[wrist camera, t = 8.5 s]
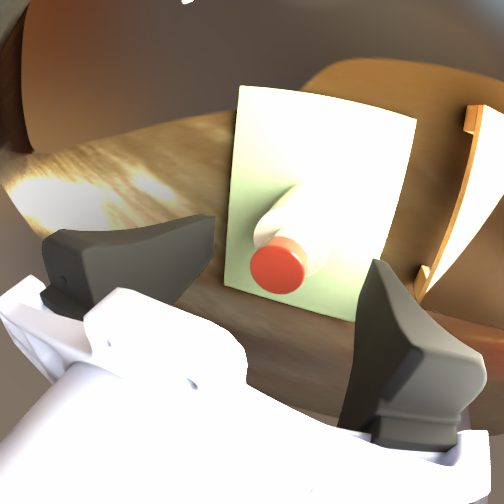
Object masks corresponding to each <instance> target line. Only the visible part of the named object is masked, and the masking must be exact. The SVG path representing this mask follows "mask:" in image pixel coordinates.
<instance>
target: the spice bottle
mask: <svg viewBox="0 0 504 504" xmlns="http://www.w3.org/2000/svg"><path fill="white" fill-rule="evenodd" d="M336 218H337V211H336V206H335V204H334V201H333V199H332V198H331V197H330V195H329V194H328V193H327V192H326V191H325V190H323V189H322V188H320V187H318V186H316V185H312V184H298V185H294V186H292V187H290V188H288V189H287V190H286V191H285V192H284V193H283V194H282V195H281V196H280V197H279V198H278V200H277V201H276V202H275V203H274V204H273V205H272V206H271V207H270V209H269V210H268V211H267V212H266V213H265V214H264V215H263V216H262V217H261V219H260V220H259V221H258V223H257V225H256V227H255V230H254V235H253V242H254V248H255V251H256V252H255V253H254V254H253V256H252V258H251V262H250V271H251V274H252V277H253V279H254V280H255V282H256V283H257V284H258V285H259V286H260V287H261V288H263V289H264V290H266V291H268V292H270V293H274V294H289V293H291V292H293V291H295V290H297V289H298V288H299V287H300V286H301V284H302V283H303V281H304V278H305V277H307V276H310V275H312V274H314V273H315V272H317V271H318V270H319V269H320V268H321V267H322V266H323V265H324V264H325V262H326V260H327V258H328V255H329V251H330V246H331V242H332V237H333V232H334V228H335V223H336Z"/></svg>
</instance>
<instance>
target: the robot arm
mask: <svg viewBox="0 0 504 504" xmlns="http://www.w3.org/2000/svg"><path fill="white" fill-rule="evenodd" d="M214 232H215V217H214V216H210V215H205V214H199V215H193V216H189V217H184V218H180V219H176V220H172V221H168V222H164V223H160V224H155V225H151V226H146V227H141V228H134V229H127V230H114V231H78V230H67V229H61V230H58V231H57V232H55V233H53V234H51V235H50V236H48V237H46V238H45V239H44V241H43V244H42V255H43V260H44V263H45V267H46V270H47V273H48V277H49V279H50V283H51V285H49V286H48V287H47V288H46V287H45V285H44V284H43V283H42V282H41V281H40V280H38V279H37V278H35V277H34V276H33V275H29V276H28V277H26V278H25V279H23V280H22V281H21V282H19V283H18V284H17V285H15V286H14V287H13V288H11V289H10V290H8V291H7V292H6V293H5V294H3V295H2V296H1V297H0V318H1V320H2V321H3V323H4V325H5V327H6V329H7V331H8V332H9V335H10V336H11V338H12V340H13V342H14V343H15V344H16V346H17V347H18V348H19V349H20V350H21V351H22V352H23V353H24V354H25V356H27V358H28V359H29V360H30V361H31V362H32V363H33V364H34V365H35V366H36V367H37V369H38V370H39V371H40V372H41V373H42V374H43V375H44V376H45V377H46V378H47V379H48V380H49V381H50V382H51V383H52V384H53V385H52V386H51V387H50V388H49V390H48V391H47V392H46V393H45V394H44V395H43V396H42V397H41V398H40V399H39V400H38V402H36V404H35V405H34V406H33V407H32V408H31V409H30V410H29V411H28V412H27V413H26V414H25V416H24V417H23V418H22V419H21V420H20V421H19V422H18V423H17V425H16V426H15V427H14V428H13V429H12V430H11V431H10V433H9V434H8V435H7V436H6V437H5V438H4V440H3V441H2V442H1V443H0V504H487V503H488V493H489V492H490V456H489V442H488V432H487V431H471V427H470V417H469V409H468V405H469V404H470V403H471V402H472V401H473V400H474V399H475V398H476V397H477V396H478V394H479V393H480V392H481V391H482V389H483V387H484V385H485V383H486V379H487V373H486V369H485V365H484V361H483V358H482V355H481V354H480V353H478V352H476V351H475V350H473V349H471V348H470V347H468V346H466V345H465V344H463V343H462V342H460V341H459V340H458V339H456V338H455V337H453V336H452V335H451V334H449V333H448V332H447V331H446V330H444V329H443V328H442V327H441V326H440V325H439V324H438V323H436V322H435V321H434V320H433V319H432V318H431V317H430V316H429V315H428V314H427V313H426V312H425V311H424V310H423V309H422V308H421V307H420V306H419V304H418V303H417V302H416V301H415V300H414V298H413V297H412V296H411V295H410V293H409V292H408V291H407V290H406V288H405V287H404V286H403V284H402V283H401V281H400V280H399V279H398V277H397V276H396V274H395V273H394V271H393V270H392V269H391V267H390V266H389V265H388V263H387V262H386V261H382V260H379V259H375V258H373V259H372V261H371V264H370V267H369V270H368V273H367V275H366V278H365V281H364V283H363V286H362V289H361V291H360V294H359V297H358V303H357V309H356V316H355V340H354V356H353V364H352V370H351V374H350V379H349V384H348V388H347V392H346V396H345V400H344V404H343V407H342V411H341V414H340V418H339V421H338V424H337V427H333V426H328V425H325V424H323V423H321V422H319V421H316V420H314V419H312V418H310V417H308V416H306V415H304V414H302V413H300V412H298V411H295V410H293V409H291V408H290V407H288V406H285V405H284V404H282V403H280V402H278V401H276V400H274V399H272V398H270V397H268V396H267V395H265V394H263V393H261V392H259V391H257V390H256V389H254V388H252V387H250V386H248V385H247V384H246V380H245V377H246V370H247V360H246V356H245V352H244V349H243V347H242V346H241V345H240V344H239V343H238V342H237V341H236V339H235V338H234V337H233V336H232V335H231V334H230V333H229V332H228V331H226V330H225V329H223V328H221V327H219V326H218V325H216V324H214V323H212V322H211V321H208V320H205V319H203V318H200V317H197V316H195V315H192V314H190V313H187V312H184V311H182V310H179V309H177V308H174V307H172V305H173V304H174V302H175V301H176V300H177V299H178V298H179V297H180V296H181V295H182V293H183V292H184V291H185V290H186V289H187V288H188V287H189V286H190V285H191V284H192V283H193V282H194V280H195V279H196V278H197V277H198V276H199V275H200V274H201V273H202V272H203V270H204V269H205V267H206V266H207V265H208V263H209V262H210V260H211V258H212V257H213V255H214Z"/></svg>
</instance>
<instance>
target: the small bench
mask: <svg viewBox="0 0 504 504" xmlns="http://www.w3.org/2000/svg"><path fill="white" fill-rule="evenodd" d="M463 130H464V131H465V132H468V133H470V134H472V135H473V141H472V145H471V150H470V154H469V159H468V163H467V167H466V171H465V175H464V178H463V182H462V185H461V189H460V192H459V196H458V199H457V202H456V205H455V208H454V211H453V214H452V217H451V220H450V223H449V226H448V228H447V231H446V234H445V236H444V239H443V242H442V244H441V247H440V249H439V252H438V254H437V256H436V259H435V261H434V264H433V266H432V268H429V267H426V266H423V265H422V266H421V268H420V270H419V273H418V275H417V277H416V279H415V282H414V284H413V288H414V292H415V297H416V301H417V303H418V304H419V306H420V307H421V308H422V309H424V310H428V311H431V312H435V313H439V314H443V315H447V316H451V317H455V318H458V319H462V320H466V321H470V322H474V323H478V324H482V325H486V326H490V327H494V328H498V329H502V330H504V115H503V114H501V113H499V112H497V111H495V110H494V109H492V108H490V107H488V106H486V105H467V111H466V117H465V123H464V129H463Z"/></svg>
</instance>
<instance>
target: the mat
mask: <svg viewBox="0 0 504 504" xmlns="http://www.w3.org/2000/svg"><path fill="white" fill-rule="evenodd" d="M415 125H416V119H414V118H411V117H407V116H404V115H401V114H398V113H394V112H391V111H387V110H384V109H380V108H377V107H373V106H369V105H365V104H361V103H356V102H352V101H348V100H343V99H338V98H333V97H328V96H323V95H317V94H311V93H304V92H298V91H290V90H283V89H274V88H264V87H251V86H240V88H239V99H238V108H237V118H236V128H235V139H234V150H233V162H232V174H231V186H230V199H229V212H228V226H227V241H226V257H225V273H224V285H226V286H230V287H233V288H236V289H239V290H242V291H246V292H249V293H252V294H256V295H259V296H262V297H265V298H269V299H272V300H276V301H279V302H282V303H286V304H289V305H293V306H296V307H300V308H303V309H307V310H310V311H314V312H317V313H321V314H325V315H328V316H332V317H336V318H339V319H343V320H347V321H351V322H354V321H355V316H356V309H357V303H358V297H359V294H360V291H361V289H362V286H363V283H364V281H365V278H366V275H367V273H368V270H369V267H370V264H371V261H372V259H373V258H375V259H379V258H380V255H381V252H382V249H383V246H384V243H385V241H386V238H387V234H388V231H389V228H390V225H391V222H392V219H393V215H394V212H395V209H396V205H397V202H398V198H399V195H400V191H401V187H402V183H403V180H404V176H405V172H406V167H407V163H408V159H409V154H410V150H411V145H412V140H413V135H414V130H415ZM298 184H312V185H316V186H318V187H320V188H322V189H323V190H325V191H326V192H327V193H328V194H329V195H330V197H331V198H332V199H333V201H334V204H335V206H336V211H337V218H336V223H335V228H334V232H333V237H332V242H331V246H330V251H329V255H328V258H327V260H326V262H325V264H324V265H323V266H322V267H321V268H320V269H319V270H318V271H317V272H315V273H314V274H312V275H310V276H307V277H305V278H304V281H303V283H302V284H301V286H300V287H299V288H298V289H297V290H295V291H293V292H291V293H289V294H274V293H270V292H268V291H266V290H264V289H263V288H261V287H260V286H259V285H258V284H257V283H256V282H255V280H254V279H253V277H252V274H251V271H250V262H251V258H252V256H253V254H254V253H255V252H256V251H255V248H254V242H253V235H254V230H255V227H256V225H257V223H258V221H259V220H260V219H261V217H262V216H263V215H264V214H265V213H266V212H267V211H268V210H269V209H270V207H271V206H272V205H273V204H274V203H275V202H276V201H277V200H278V198H279V197H280V196H281V195H282V194H283V193H284V192H285V191H286V190H287V189H288V188H290V187H292V186H294V185H298Z"/></svg>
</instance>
